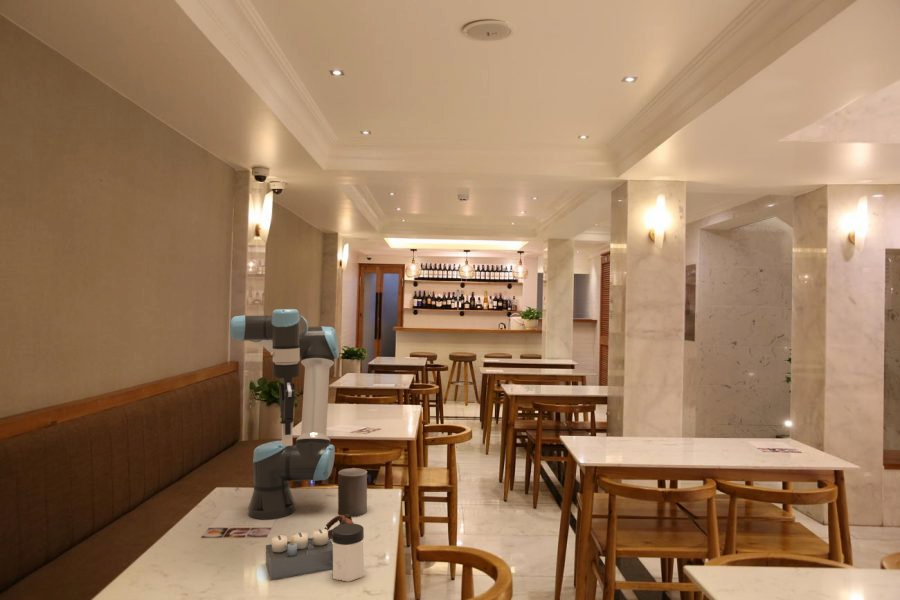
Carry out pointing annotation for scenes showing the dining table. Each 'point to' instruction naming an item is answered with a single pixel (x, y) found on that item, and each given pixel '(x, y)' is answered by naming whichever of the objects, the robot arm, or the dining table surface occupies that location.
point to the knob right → (320, 537)
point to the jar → (348, 552)
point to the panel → (299, 560)
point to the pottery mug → (342, 520)
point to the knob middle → (301, 540)
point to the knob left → (279, 543)
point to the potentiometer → (292, 548)
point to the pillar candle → (352, 492)
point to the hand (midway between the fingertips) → (287, 445)
